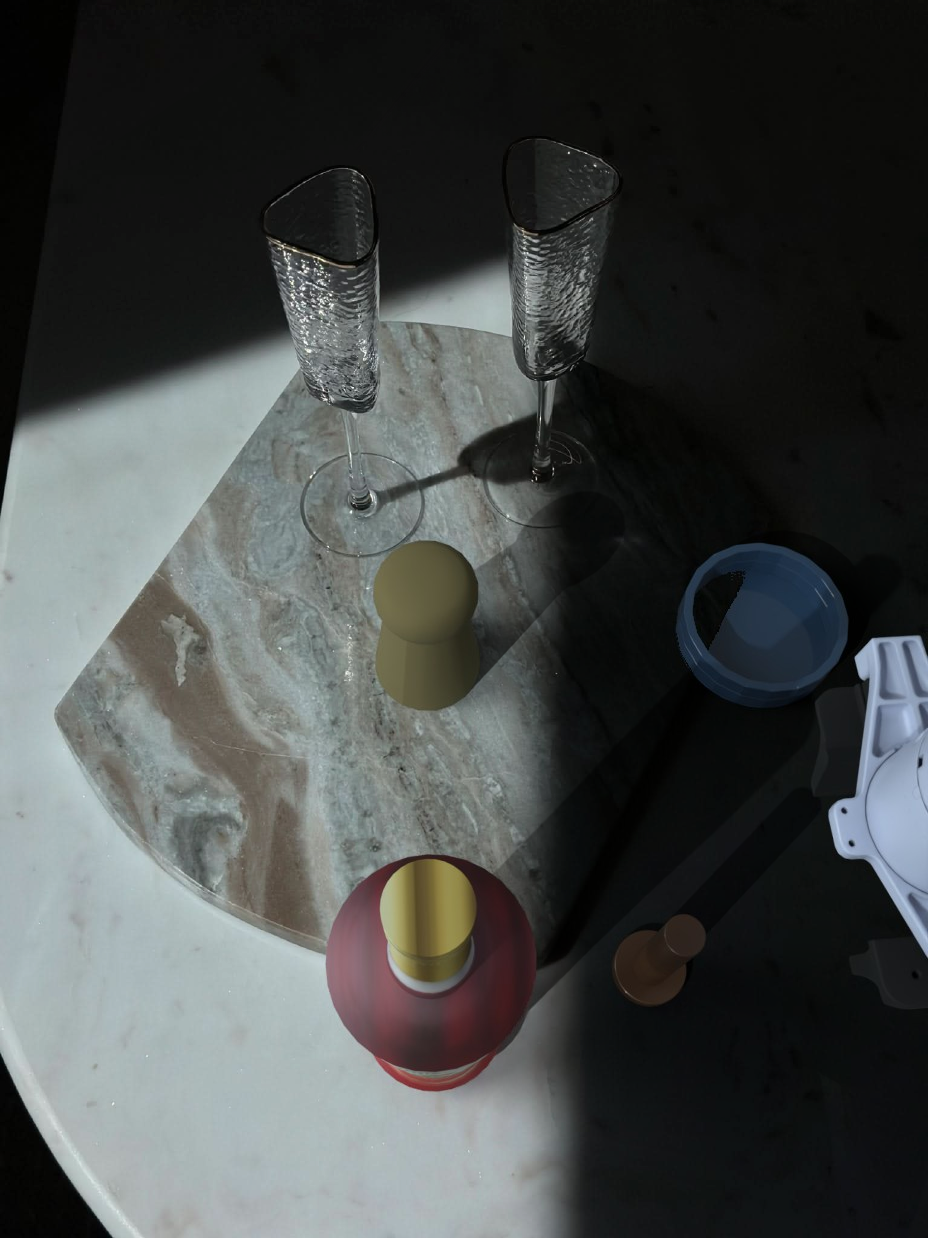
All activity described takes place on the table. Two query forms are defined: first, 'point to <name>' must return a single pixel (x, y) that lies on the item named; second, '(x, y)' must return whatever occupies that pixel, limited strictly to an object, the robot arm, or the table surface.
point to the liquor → (431, 968)
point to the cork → (426, 625)
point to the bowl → (766, 627)
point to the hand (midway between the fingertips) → (852, 874)
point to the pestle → (657, 960)
